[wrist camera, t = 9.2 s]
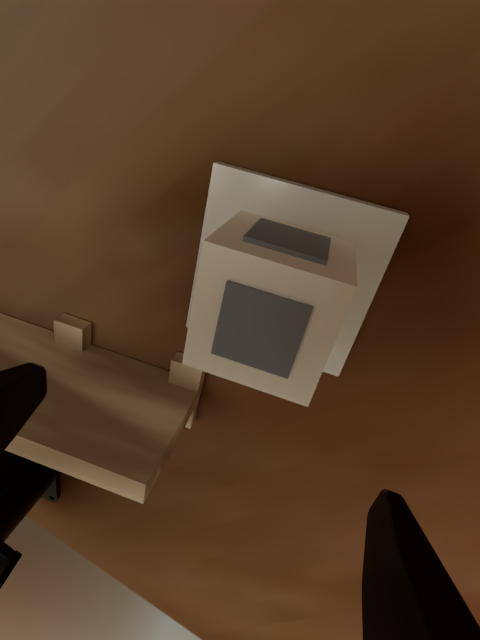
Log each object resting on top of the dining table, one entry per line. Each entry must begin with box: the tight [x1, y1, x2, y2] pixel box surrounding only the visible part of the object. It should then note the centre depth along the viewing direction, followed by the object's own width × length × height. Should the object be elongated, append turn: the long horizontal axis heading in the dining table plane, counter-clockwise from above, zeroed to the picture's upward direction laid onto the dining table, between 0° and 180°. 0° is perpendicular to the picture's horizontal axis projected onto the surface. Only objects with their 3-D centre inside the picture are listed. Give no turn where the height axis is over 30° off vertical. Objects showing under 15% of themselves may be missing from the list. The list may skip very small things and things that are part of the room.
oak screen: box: [0, 313, 205, 504], centre depth 22 cm, size 5×16×8 cm, turn 77°
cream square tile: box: [186, 161, 410, 377], centre depth 19 cm, size 9×9×1 cm
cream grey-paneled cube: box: [182, 210, 358, 407], centre depth 16 cm, size 6×6×6 cm
